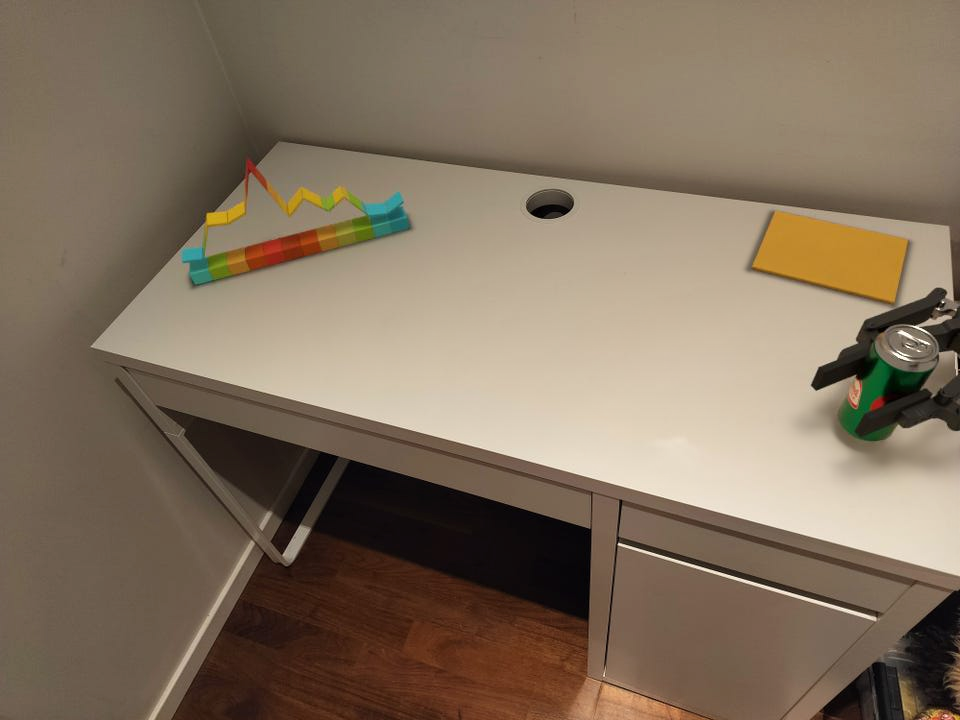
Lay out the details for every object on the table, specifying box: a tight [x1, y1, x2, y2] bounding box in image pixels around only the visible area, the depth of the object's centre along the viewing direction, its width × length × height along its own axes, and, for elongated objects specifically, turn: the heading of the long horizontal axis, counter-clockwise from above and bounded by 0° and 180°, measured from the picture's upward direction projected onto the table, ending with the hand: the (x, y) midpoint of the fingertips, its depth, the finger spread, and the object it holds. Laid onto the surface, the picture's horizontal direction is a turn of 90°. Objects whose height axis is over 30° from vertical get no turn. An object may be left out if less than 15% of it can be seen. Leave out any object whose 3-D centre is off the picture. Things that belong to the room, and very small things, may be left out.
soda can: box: [837, 324, 940, 443], centre depth 62 cm, size 5×5×12 cm
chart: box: [181, 157, 410, 286], centre depth 89 cm, size 30×3×15 cm, turn 107°
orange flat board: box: [751, 210, 909, 305], centre depth 84 cm, size 16×12×1 cm
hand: (839, 401), depth 60 cm, fingers closed on soda can, 5 cm apart
